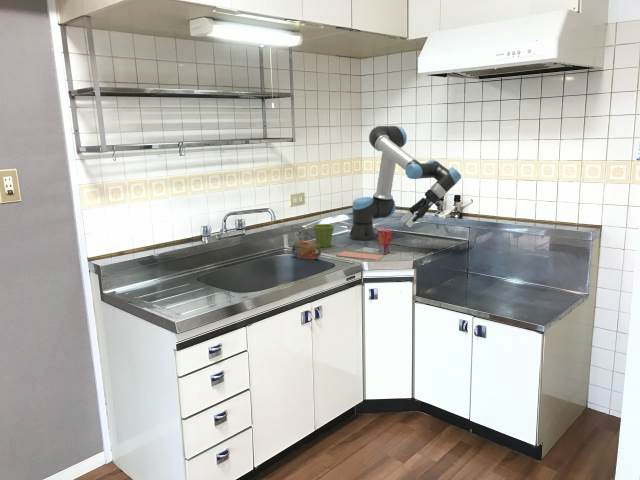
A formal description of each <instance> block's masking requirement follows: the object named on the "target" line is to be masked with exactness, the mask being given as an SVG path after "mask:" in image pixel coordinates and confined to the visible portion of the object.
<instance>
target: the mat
mask: <svg viewBox="0 0 640 480" xmlns="http://www.w3.org/2000/svg"><path fill="white" fill-rule="evenodd" d="M384 256H385V255H377V254H367V253H357V252H347V250H344V251H342V252H339V253H338V254H336V255H335V257H338V258H339V257H340V258H347V259H348V258H350V259H359V260H366V259H370V260H369V261H375V260H378V261H380V260H382V259H383V258H384ZM382 257H383V258H382ZM385 257H386V256H385ZM381 258H382V259H381ZM371 259H372V260H371ZM379 259H380V260H379Z"/></svg>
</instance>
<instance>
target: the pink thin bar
mask: <svg viewBox="0 0 640 480" xmlns="http://www.w3.org/2000/svg"><path fill="white" fill-rule="evenodd" d="M346 251H347V252H357V253H367V254H377V255H384V254H385V255H387V256H388V253H375V252H367V251H357V250H356V251H355V250H346Z"/></svg>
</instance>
